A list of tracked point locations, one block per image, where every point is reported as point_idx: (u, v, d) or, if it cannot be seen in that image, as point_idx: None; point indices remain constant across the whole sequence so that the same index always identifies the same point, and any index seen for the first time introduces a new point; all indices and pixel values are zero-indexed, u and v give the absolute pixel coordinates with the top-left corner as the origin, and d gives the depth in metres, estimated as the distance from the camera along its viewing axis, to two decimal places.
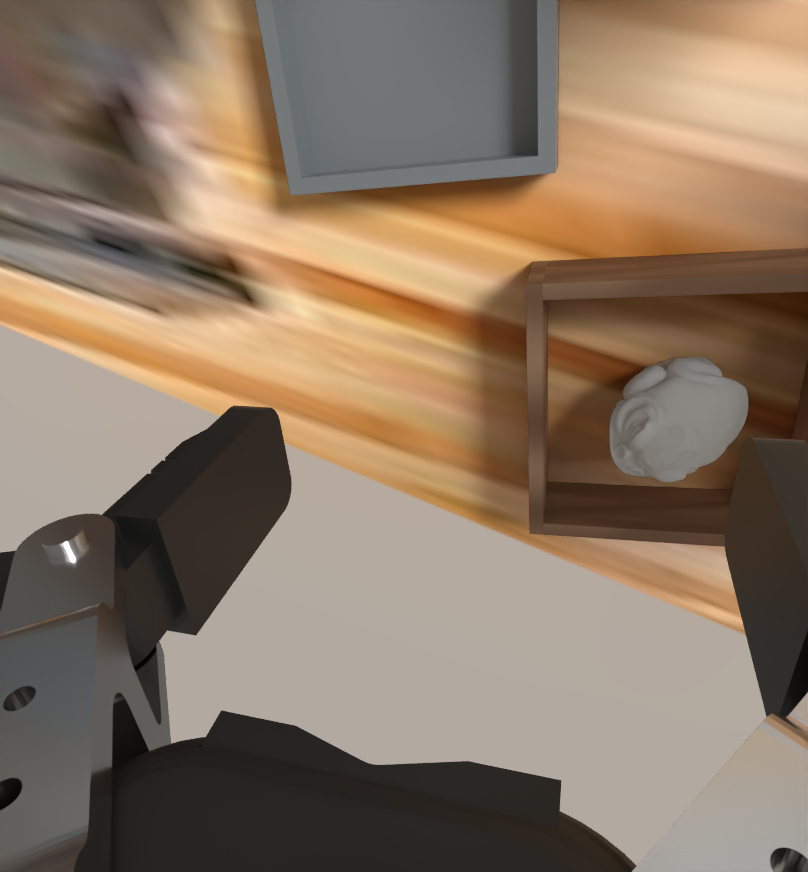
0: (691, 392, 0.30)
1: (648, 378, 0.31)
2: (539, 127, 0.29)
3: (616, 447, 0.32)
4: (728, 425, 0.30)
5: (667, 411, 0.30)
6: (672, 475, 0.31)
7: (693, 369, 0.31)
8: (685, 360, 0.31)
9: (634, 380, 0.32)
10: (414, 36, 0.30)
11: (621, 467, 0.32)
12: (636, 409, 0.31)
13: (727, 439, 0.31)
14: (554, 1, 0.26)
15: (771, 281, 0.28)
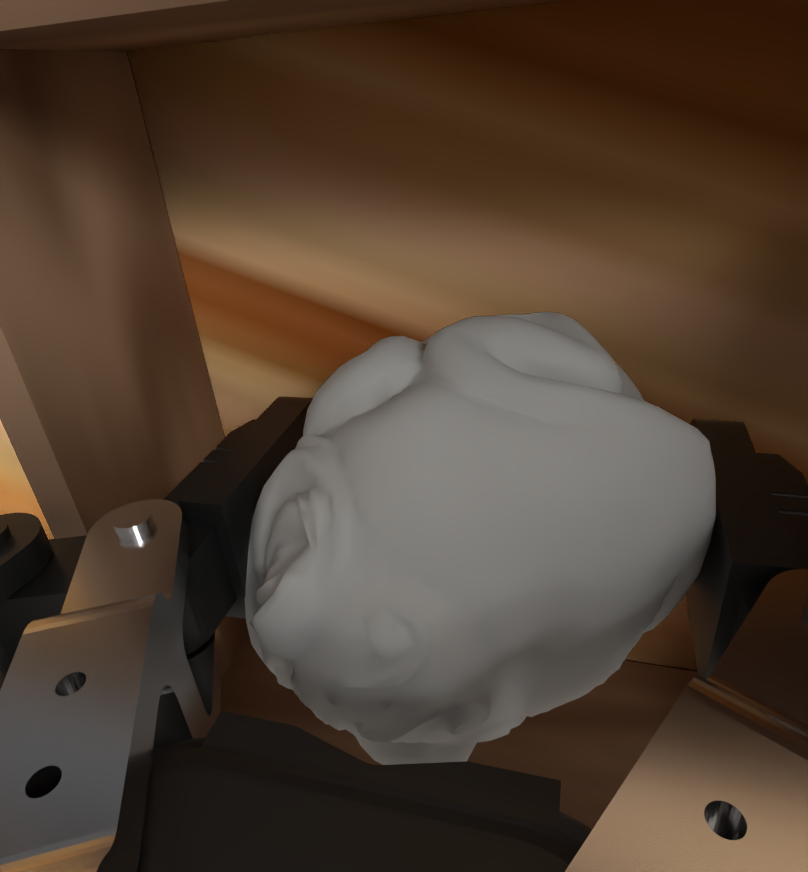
0: (474, 454, 0.07)
1: (353, 383, 0.08)
2: None
3: None
4: (629, 596, 0.07)
5: (370, 531, 0.07)
6: (411, 762, 0.08)
7: (506, 357, 0.08)
8: (486, 321, 0.08)
9: (321, 389, 0.09)
10: None
11: None
12: (292, 499, 0.08)
13: (626, 639, 0.08)
14: None
15: None
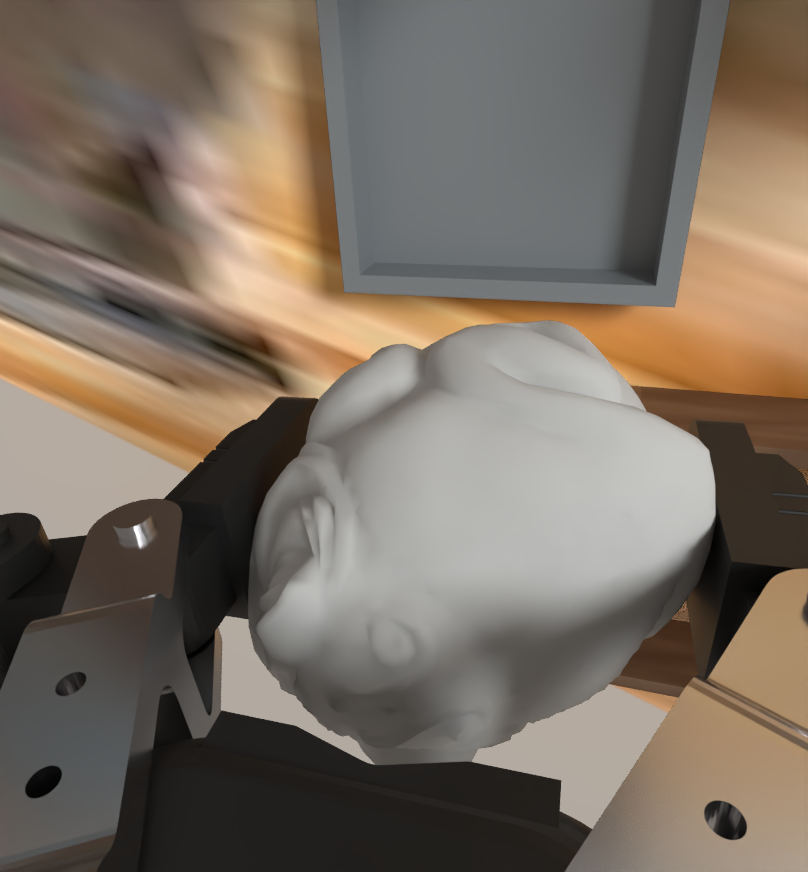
0: (475, 464, 0.07)
1: (355, 392, 0.09)
2: (663, 254, 0.23)
3: None
4: (628, 603, 0.07)
5: (373, 539, 0.07)
6: None
7: (507, 366, 0.08)
8: (487, 330, 0.08)
9: (323, 397, 0.09)
10: (514, 123, 0.24)
11: None
12: (295, 507, 0.08)
13: (626, 646, 0.08)
14: (707, 111, 0.21)
15: None
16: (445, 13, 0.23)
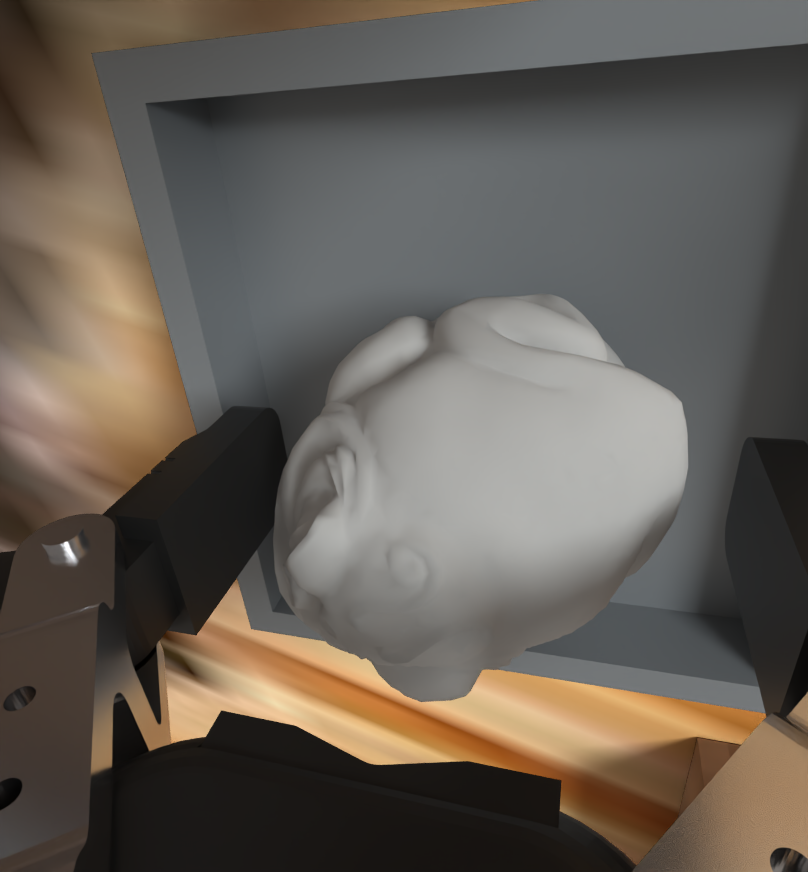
0: (479, 412, 0.08)
1: (371, 357, 0.10)
2: None
3: (284, 568, 0.10)
4: (612, 535, 0.08)
5: (390, 479, 0.08)
6: (425, 685, 0.09)
7: (506, 331, 0.09)
8: (489, 301, 0.09)
9: (342, 363, 0.10)
10: None
11: None
12: (319, 458, 0.09)
13: (611, 575, 0.09)
14: None
15: None
16: (384, 235, 0.13)
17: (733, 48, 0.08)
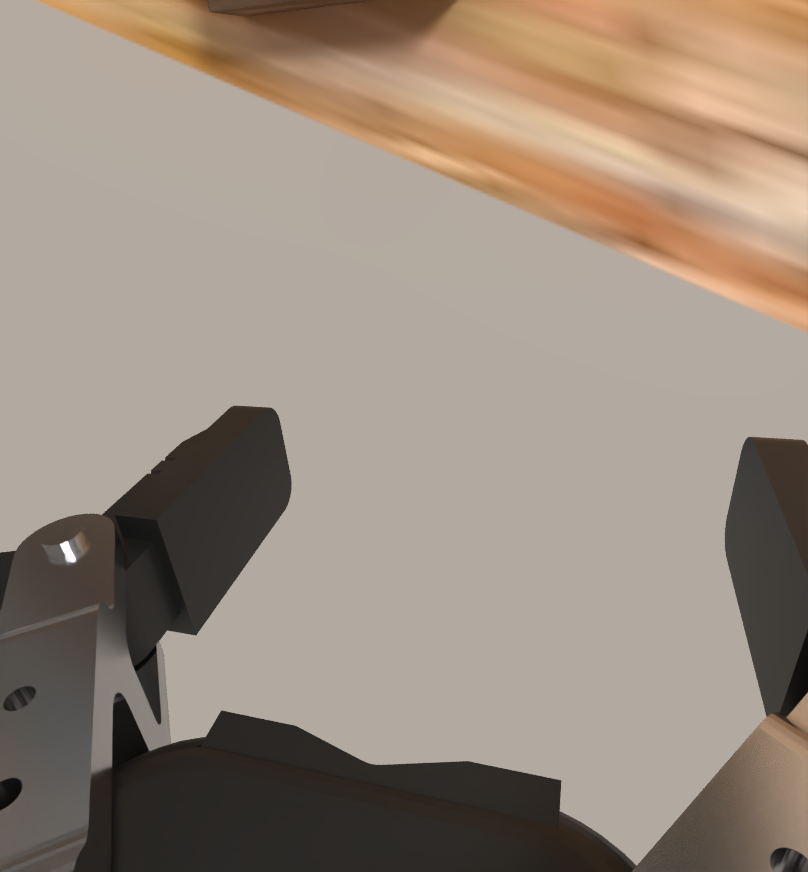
0: None
1: None
2: None
3: None
4: None
5: None
6: None
7: None
8: None
9: None
10: None
11: None
12: None
13: None
14: None
15: None
16: None
17: None
